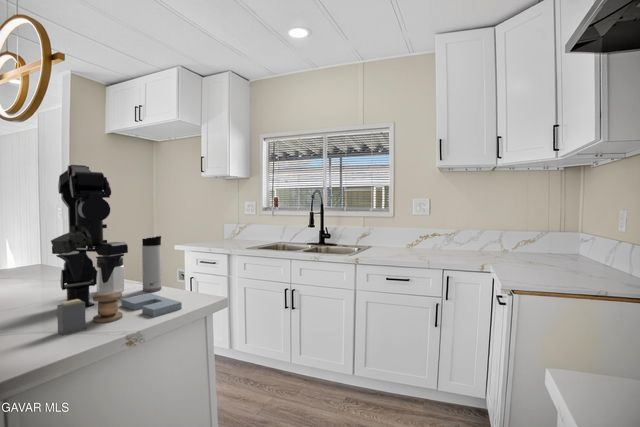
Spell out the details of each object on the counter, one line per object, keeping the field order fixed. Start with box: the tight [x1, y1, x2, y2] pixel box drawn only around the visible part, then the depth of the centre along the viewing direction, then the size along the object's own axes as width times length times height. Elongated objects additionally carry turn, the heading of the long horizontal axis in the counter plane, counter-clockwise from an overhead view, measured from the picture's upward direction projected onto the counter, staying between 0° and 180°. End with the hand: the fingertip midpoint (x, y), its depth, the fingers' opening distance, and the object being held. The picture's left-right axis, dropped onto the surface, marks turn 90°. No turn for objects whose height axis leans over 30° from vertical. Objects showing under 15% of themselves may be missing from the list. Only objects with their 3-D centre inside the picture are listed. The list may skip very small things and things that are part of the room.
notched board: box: [120, 292, 183, 318], centre depth 106 cm, size 18×9×2 cm, turn 56°
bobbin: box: [92, 292, 123, 324], centre depth 96 cm, size 7×7×7 cm
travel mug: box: [141, 235, 163, 293], centre depth 126 cm, size 6×7×20 cm
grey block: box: [56, 299, 87, 336], centre depth 87 cm, size 3×5×8 cm, turn 146°
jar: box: [95, 256, 125, 294], centre depth 124 cm, size 9×8×12 cm
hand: (90, 281), depth 88 cm, fingers open, 9 cm apart
